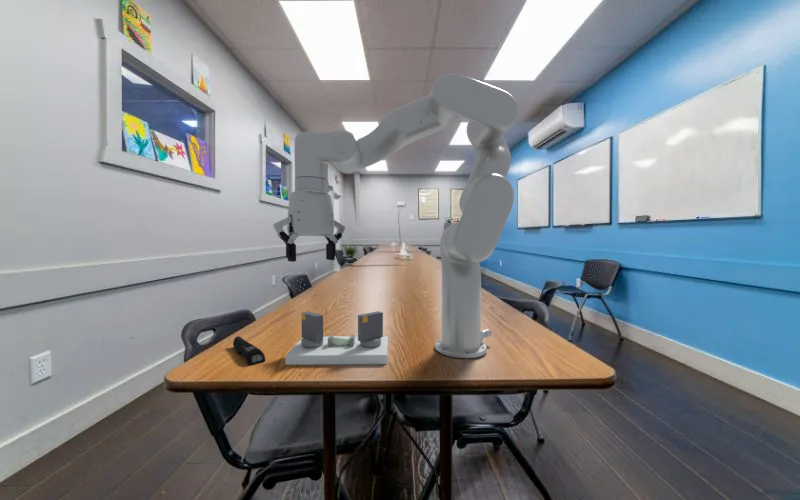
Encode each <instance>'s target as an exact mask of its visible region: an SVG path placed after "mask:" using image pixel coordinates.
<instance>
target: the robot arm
mask: <svg viewBox="0 0 800 500" xmlns="http://www.w3.org/2000/svg"><path fill="white" fill-rule="evenodd" d="M518 116H519V105H518V102H517V101H516V98H515V97H514V96H513V95H512V94H510V93H509V92H508V91H506V90H503V89H501V88H499V87H496V86H494V85H491V84H489V83H486V82H482V81H480V80H477V79H475V78H472V77H469V76H465V75H462V74H458V73H446V74H442V75H440V76H439V77H438V78H437V79H436V80H435V81H434V82H433V84H432V87H431V90H430V92H429V94H427V95H425V96H422V97H420V98H417V99H416V100H413V101H411V102H409V103H406V104H404V105H401V106H398V107H395V108H393V109H392V110H390V111H389V112H388V113H387V114H386V115H385V116H384V117H383V119H382V120H381V122H380V123H379V125H377V127H375V128H374V129H373V130H371V132H370V133H368V134H366V135H365V136H363V137H361V138H357V137H356V135H354V133H352V132H350V131H348V130H343V129H342V130H341V129H340V130H339V129H338V130H334V131H333V130H332V131H326V132H314V131H303V132H299V133H297V134H296V136H295V137H294V191H292V192H290V196H289V201H288V206H287V207H288V209H287V217H285V218H284V219H282V220H279V221H277V222H274V223H273V224H272V226H273V228H274V230H275V231H276V233H277V236H278V237H279V238H280V240H282V241H283V243H284V244H285V258H286V259H287V261H288V262H293V263H294V262H296V261H297V244H296V243H295V241H296V240H297V238H298V237H299V236H300V237H301V236H302V237H303V236H304V237H323V238H325V240H326V241H327V243H326V245H325V254H326V255H325V256H326V257H325V258H326V259H325V260H329V261H335V260H336V259H335V258H336V254H337V249H336V248H337V247H336V246H337V244H338V243H339V241H340V239H341V238H342V237H343V234H344V231H345V230H346V227H345V226H344V225H343V224H342V223H340V222H338V221H337V220H335V217H334V214H335V213H334V207H333V201H332V196H331V194H329V192H333V186H332V185H330V184H329V164H330V163H331V164H332V165H333V166H334V168H335V169H336V170H337V171H339V172H341V173H344V174H352V173H355V172H358V171H361V170H363V169H366V168H368V167H369V166H372V165H375V164H377V163H378V162H380V161H382V160H384V159H385V158H388V157H389V156H391V155H392V154H395V153H397V152H398V151H400V149H402V148H403V147H405V146H407V145H410V144H412V143H414V142H416V141H419V140H421V139H424V138H426V137H428V136H431V135H433V134H435V133H438V132H440V131H443V130H445V129H447V128H448V127H450V126H452V125H454V123H455V122H457V120H458V119H459V117H461V118H464V119H466V120H468V122H467V125H466V135H467V139H468V141H469V143H470V144H471V145H472V147H473V150H474V152H475V159H474V160H475V161H474V163H473V167H472V169H471V171H470V173H469V174H470V175H469V177H468V178H467V181H466V184H465V186H464V187H463V190H462V191H461V195H460V197H459V209H460V211H461V216H460V219H459V221H458V222H454V223H452V224H450V225H449V226H448V227H446V228H445V230H444V231H443V232H442V233H441V234H442V235H441V236H440V237H441V238H440V241H439V250H440V251H439V252H440V260H441V262H440V263H441V338H439V339H438V340H436V341H435V343H434V348H435V350H436V351H437V352H439V353H440V354H442V355H444V356H447V357H451V358H456V359H457V358H458V359H475V358H480V357H482V356H484V355H486V353H487V350H488V347H487V345H486V344H485V343H484V342H483V341H484V339H485V338H489V337H491V336H492V334H493V333H492V331H491V329H489V328H488V329H487V328H486V329H481V317H482V316H481V315H482V314H481V313H482V311H481V310H482V307H481V306H482V304H481V303H482V302H481V301H482V295H481V294H482V273H481V264H480V263H481V262H483V261H486V260H487V259H488V258H489V257H490V256H491V255H492V254H493V252H494V251H495V249H496V247H497V245H498V242H499V241H500V238H501V235H502V233H503V231H504V228H505V226H506V223H507V221H508V219H509V216H510V213H511V211H512V208H513V205H514V198H515V193H514V189H513V186H512V184H511V182H510V181H509V180H508V177H507V176H508V174H509V170H510V167H511V162H512V156H511V155H512V154H511V151H510V148H509V146H508V144H507V141H506V139H505V137H504V136H503V135H504V134H505V133H506V132H507V131H509V130H510V128H512V127H513V126H514V124H515V123H516V121H517V119H518ZM284 226H286V230H287V233H286V232H285V230H284V229H283V228H284ZM335 229H336V232H335ZM334 232H335V233H334Z"/></svg>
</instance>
